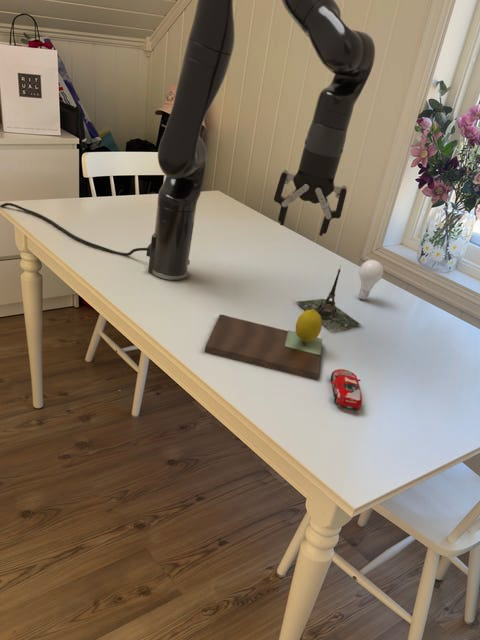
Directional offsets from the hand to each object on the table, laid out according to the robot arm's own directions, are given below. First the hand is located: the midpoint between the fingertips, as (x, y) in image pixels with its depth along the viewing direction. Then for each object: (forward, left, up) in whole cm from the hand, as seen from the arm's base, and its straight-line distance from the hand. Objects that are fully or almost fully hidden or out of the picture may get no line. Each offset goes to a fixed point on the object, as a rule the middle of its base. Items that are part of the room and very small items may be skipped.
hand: (301, 229), depth 128 cm
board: (-1, -12, -23) cm, 26 cm away
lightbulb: (+21, +29, -23) cm, 42 cm away
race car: (+17, -23, -23) cm, 37 cm away
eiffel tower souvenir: (+12, +13, -23) cm, 29 cm away
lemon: (+7, -8, -22) cm, 24 cm away
